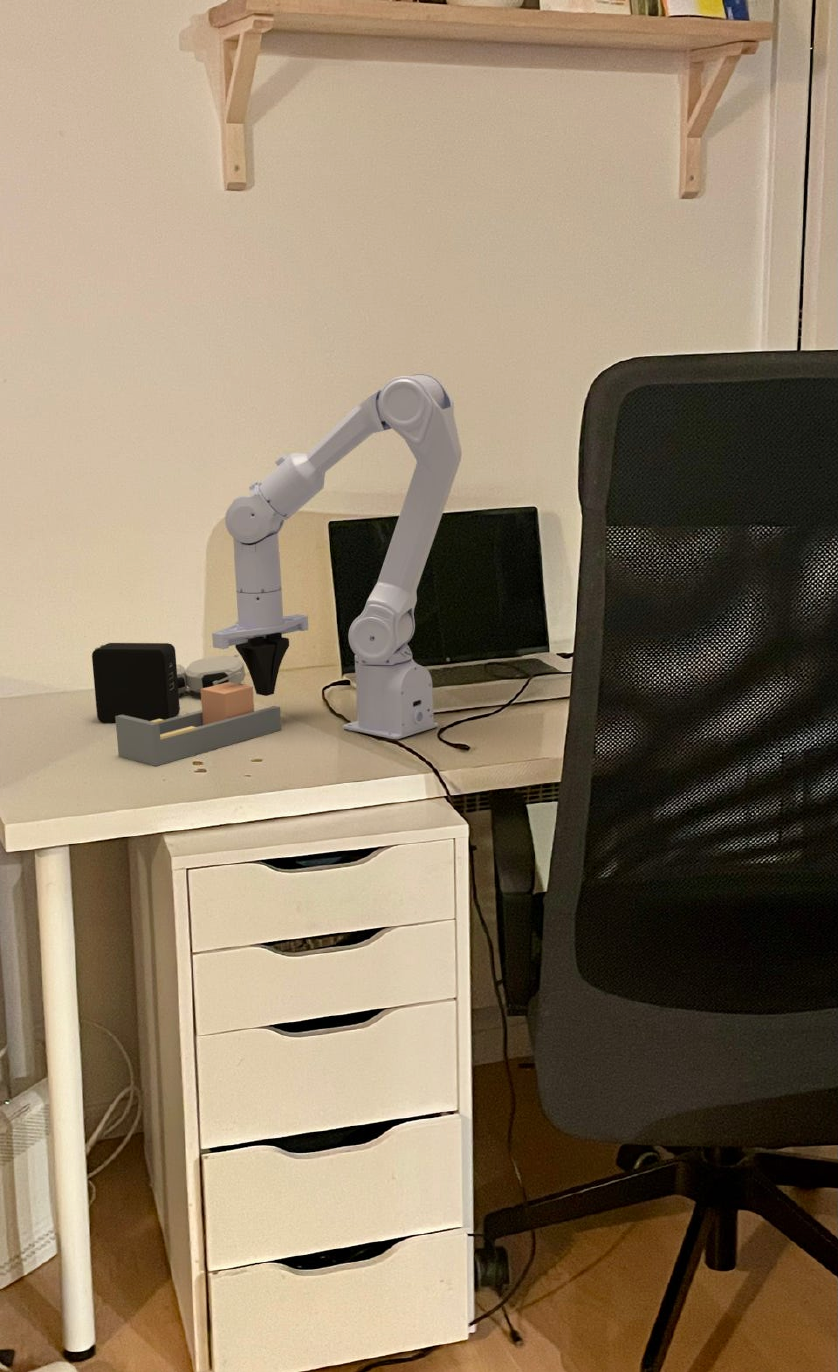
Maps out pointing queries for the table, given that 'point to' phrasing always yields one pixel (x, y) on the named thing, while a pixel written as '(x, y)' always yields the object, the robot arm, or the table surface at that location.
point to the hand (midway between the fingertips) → (265, 694)
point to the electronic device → (135, 681)
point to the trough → (188, 734)
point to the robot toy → (210, 673)
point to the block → (226, 701)
